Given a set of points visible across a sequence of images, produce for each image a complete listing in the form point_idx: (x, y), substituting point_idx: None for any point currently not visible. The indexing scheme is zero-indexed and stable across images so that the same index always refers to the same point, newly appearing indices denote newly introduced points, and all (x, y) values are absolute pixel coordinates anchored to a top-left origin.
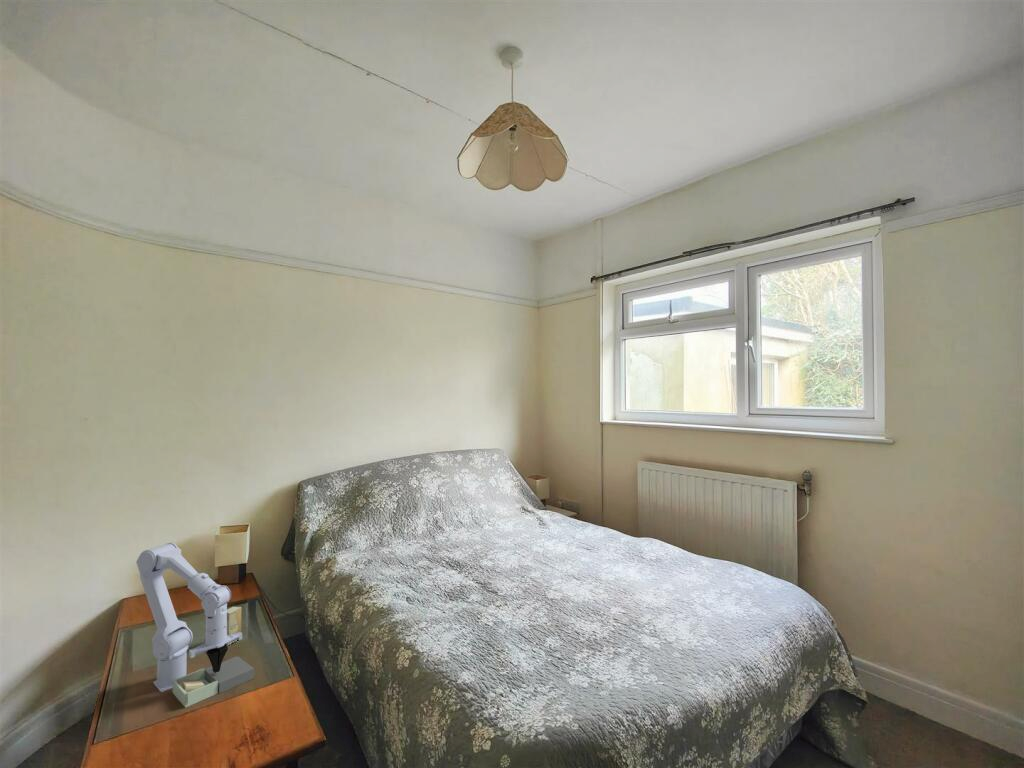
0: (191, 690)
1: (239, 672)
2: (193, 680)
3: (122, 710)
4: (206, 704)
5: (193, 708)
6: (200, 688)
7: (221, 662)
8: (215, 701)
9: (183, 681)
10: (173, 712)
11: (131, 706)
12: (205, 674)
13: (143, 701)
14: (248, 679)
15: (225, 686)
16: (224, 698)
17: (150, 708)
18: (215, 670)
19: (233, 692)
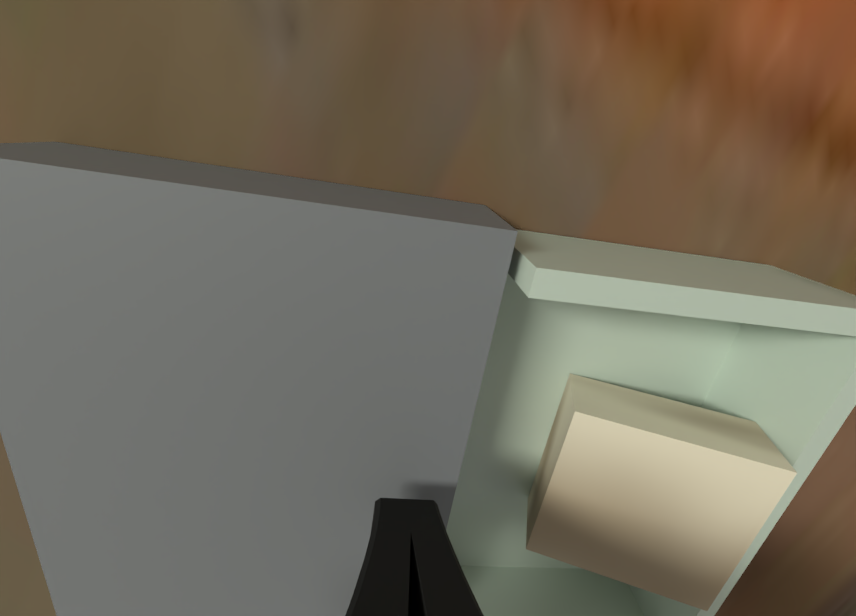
0: (692, 417)
1: (178, 267)
2: (596, 555)
3: (839, 594)
4: (682, 104)
5: (768, 167)
6: (758, 293)
7: (355, 614)
8: (609, 58)
9: (704, 589)
10: (844, 285)
11: (798, 597)
12: None
13: (742, 597)
14: (129, 157)
15: (425, 203)
16: (525, 7)
17: (806, 493)
18: (440, 525)
19: (389, 42)
